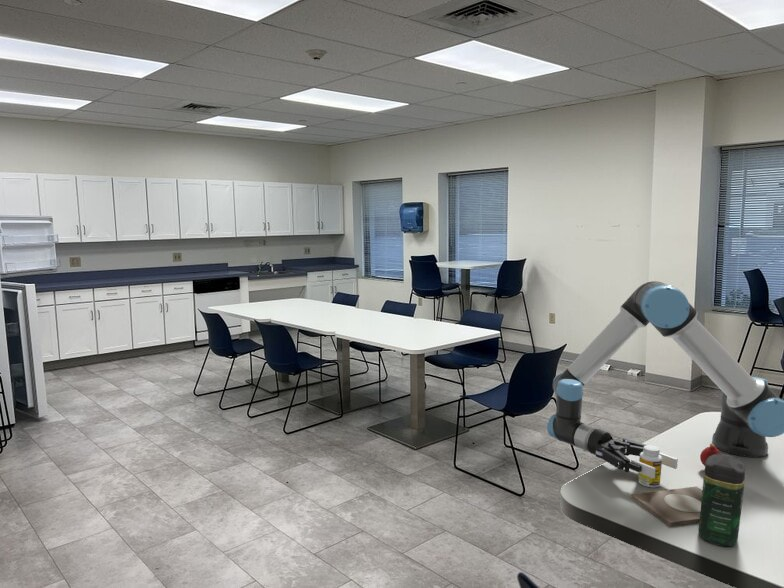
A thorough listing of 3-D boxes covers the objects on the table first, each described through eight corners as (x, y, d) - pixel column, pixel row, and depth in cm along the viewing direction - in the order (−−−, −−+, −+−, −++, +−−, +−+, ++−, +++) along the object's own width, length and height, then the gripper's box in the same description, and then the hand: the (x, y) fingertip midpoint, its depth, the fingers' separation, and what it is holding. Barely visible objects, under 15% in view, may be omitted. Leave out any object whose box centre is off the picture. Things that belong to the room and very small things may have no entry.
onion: (721, 468, 165) (723, 442, 164) (723, 476, 160) (725, 449, 159) (698, 464, 167) (700, 438, 166) (699, 472, 162) (702, 446, 161)
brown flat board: (696, 490, 152) (696, 485, 152) (739, 516, 138) (740, 512, 138) (631, 498, 147) (631, 493, 147) (669, 526, 133) (669, 521, 133)
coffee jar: (737, 552, 123) (745, 471, 121) (696, 540, 128) (703, 462, 125) (739, 532, 132) (747, 455, 129) (700, 521, 136) (707, 447, 133)
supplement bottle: (652, 490, 151) (655, 453, 150) (633, 482, 156) (635, 446, 154) (664, 485, 154) (667, 449, 153) (645, 477, 159) (648, 442, 158)
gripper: (616, 444, 176) (687, 471, 157) (568, 461, 163) (639, 492, 145) (617, 421, 175) (689, 446, 156) (570, 436, 162) (641, 464, 144)
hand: (665, 468), depth 151 cm, fingers open, 10 cm apart
